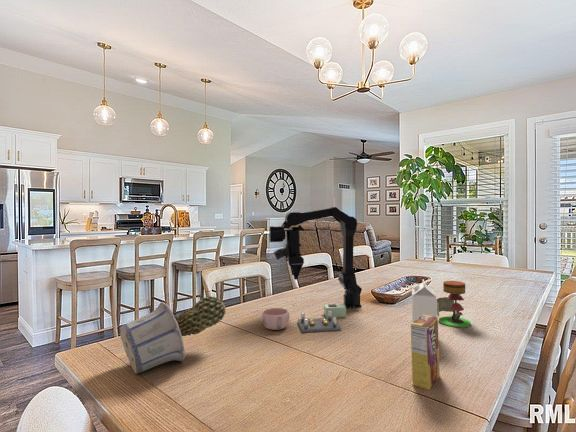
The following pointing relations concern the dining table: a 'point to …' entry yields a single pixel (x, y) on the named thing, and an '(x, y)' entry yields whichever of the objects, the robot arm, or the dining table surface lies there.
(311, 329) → the chassis
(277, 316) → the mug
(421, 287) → the milk carton
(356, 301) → the robot arm
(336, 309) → the pale green block
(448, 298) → the brown and green pedestal
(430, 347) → the candy box
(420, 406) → the dining table surface
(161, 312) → the potted plant
